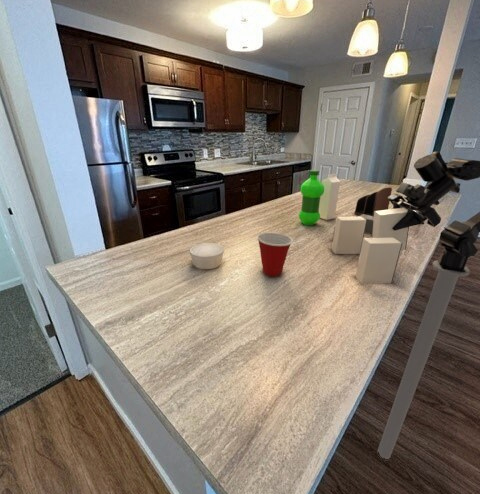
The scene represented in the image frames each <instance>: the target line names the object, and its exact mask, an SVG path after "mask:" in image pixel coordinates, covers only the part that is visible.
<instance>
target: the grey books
mask: <svg viewBox="0 0 480 494" xmlns="http://www.w3.org/2000/svg"><path fill="white" fill-rule="evenodd" d="M357 217H363V218H365V219H366V220H367V222H366V227H365V232H364V233H368V234H371V235H372V234H373V221H374V216H369V215H365V214H362V215H357ZM334 231H335V226H334V228H333V235H332V238H333V237H334ZM332 242H333V239H332Z"/></svg>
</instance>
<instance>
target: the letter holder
mask: <svg viewBox="0 0 480 494" xmlns="http://www.w3.org/2000/svg"><path fill="white" fill-rule="evenodd" d="M392 191H393V188H392V187H383V188H381V189H380V190H377V191H374V192H373V193H370V194H366V195H363V196H362V197H359V198H358V199H357V200H356V206H355V209H354V215H357V216H360V215H362V214H365V215H369V216H374V211H380V210H389V205H390V203H391V202H390V201H389V199H388V197H389V196H390V195H392Z"/></svg>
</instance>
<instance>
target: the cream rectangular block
mask: <svg viewBox="0 0 480 494" xmlns="http://www.w3.org/2000/svg"><path fill="white" fill-rule="evenodd" d="M407 211H408V210H407V209H406V208H397V209H393V208H388V210H380V211H374V221H373V234H371V235H372V236H371V238H393V237H394V238H395V239H397V240H399V241H400V242H402V247H401V251H406V250H407V246H408V239H409V231H410V227H406V228H403V229H399V230H395V231H394V230H393V229H392V228H393V227H394V226H395V225H396V224H397V223H398V222H399V221H400V220H401V219H402V218H403V217H404V216H406V214H407Z"/></svg>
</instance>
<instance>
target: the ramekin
mask: <svg viewBox="0 0 480 494" xmlns="http://www.w3.org/2000/svg"><path fill="white" fill-rule="evenodd" d="M224 253H225V250H224V246H223V245H221V244H219V243H215V242H204V243H199V244H198V243H197V244H196V245H193V246H192V247H190V248H189V255H190V258H191V261H192V264H193V266H194V267H195V268H197V269H199V270H200V269H201V270H212V269H216V268H217V267H219V266H220V265H221V264H222V263H223V256H224Z"/></svg>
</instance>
